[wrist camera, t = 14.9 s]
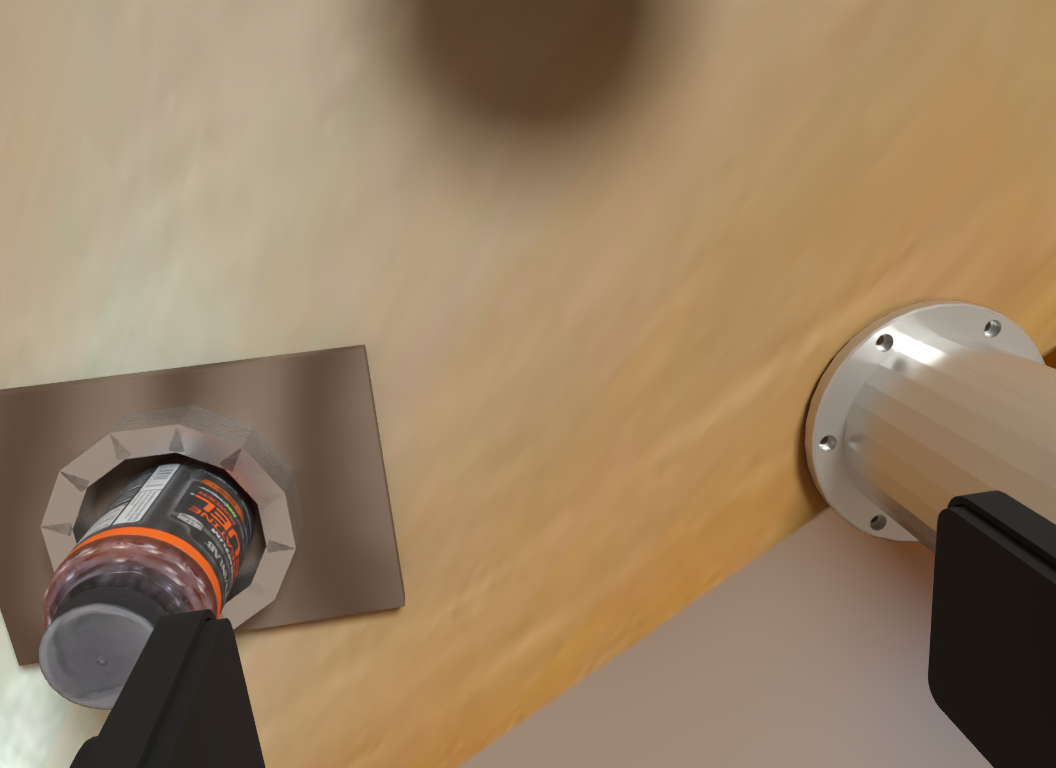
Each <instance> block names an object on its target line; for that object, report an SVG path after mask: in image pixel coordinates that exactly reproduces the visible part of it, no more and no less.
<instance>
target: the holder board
mask: <svg viewBox="0 0 1056 768" xmlns="http://www.w3.org/2000/svg"><path fill="white" fill-rule="evenodd" d="M190 405H194V406H197V407H200V408H202V409H205V410H208V411H211V412H214V413H216V414H219V415H222V416H225V417H228V418H230V419H233V420H236V421H239V422H242V423H244V424H247V425H250V426H253V427H254V428H255V429H256V431H257V432H258V433H259V434H260V435H261V436H262V437H263V438H264V439H265V440H266V441H267V443H268V444H269V445H270V446H271V447H272V448H273V449H274V450H275V451H276V452H277V454H278V455H279V456H280V457H281V458H282V459H283V460H284V461H285V462H286V463H287V464H288V466H289V467H290V468H291V469H292V470H293V474H294V479H295V484H296V489H297V494H298V500H299V505H300V510H301V515H302V520H303V526H302V529H301V533H300V536H299V540H298V544H297V547H296V550H295V552H294V555H293V557H292V559H291V562H290V564H289V567H288V569H287V571H286V574H285V576H284V579H283V581H282V583H281V586H280V588H279V591H278V593H277V595H276V598H275V600H274V601H272V602H271V603H269V604H268V605H267V606H265V607H264V608H263V609H261V610H260V611H258V612H257V613H256V614H254V615H253V616H251V617H250V618H249V619H247V620H246V621H245V622H243V623H242V624H240V625H239V626H238V627H236V628H235V629H233V631H234V632H241V631H247V630H254V629H260V628H267V627H273V626H280V625H286V624H293V623H299V622H306V621H312V620H319V619H325V618H332V617H338V616H345V615H351V614H358V613H364V612H371V611H377V610H384V609H390V608H397V607H403V606H405V593H404V586H403V580H402V574H401V568H400V561H399V555H398V549H397V543H396V536H395V530H394V524H393V517H392V511H391V505H390V499H389V492H388V486H387V480H386V473H385V467H384V461H383V455H382V448H381V442H380V436H379V430H378V423H377V417H376V411H375V404H374V398H373V392H372V386H371V379H370V373H369V367H368V361H367V354H366V348H365V345H359V346H351V347H343V348H334V349H326V350H318V351H310V352H302V353H294V354H286V355H278V356H270V357H262V358H254V359H246V360H237V361H229V362H221V363H213V364H205V365H197V366H189V367H181V368H173V369H165V370H157V371H148V372H140V373H132V374H124V375H116V376H108V377H100V378H92V379H84V380H76V381H68V382H59V383H51V384H43V385H35V386H27V387H19V388H11V389H3V390H0V609H1V612H2V615H3V618H4V621H5V624H6V627H7V630H8V633H9V636H10V639H11V642H12V645H13V648H14V651H15V654H16V657H17V660H18V663H19V665H26V664H32V663H39V647H40V643H41V639H42V637H43V635H44V633H45V631H46V630H45V626H44V622H43V617H42V606H43V599H44V594H45V591H46V588H47V586H48V584H49V581H50V579H51V577H52V576H53V574H54V570H53V567H52V563H51V560H50V557H49V553H48V550H47V547H46V543H45V540H44V537H43V533H42V530H41V524H42V521H43V518H44V515H45V512H46V509H47V506H48V503H49V500H50V497H51V494H52V491H53V488H54V486H55V483H56V480H57V477H58V474H59V471H60V470H61V469H62V468H63V467H64V466H65V465H66V464H67V463H68V462H69V461H70V460H71V459H72V458H73V457H74V456H75V455H76V454H77V453H78V452H79V451H81V450H82V449H83V448H84V447H85V446H87V445H88V444H89V443H91V442H92V441H93V440H95V439H96V438H97V437H99V436H100V435H101V434H103V433H104V432H105V431H107V430H108V429H109V428H111V427H112V426H113V425H115V424H116V423H117V422H119V421H120V420H121V419H123V418H124V417H125V416H127V415H128V414H129V413H135V412H143V411H151V410H159V409H166V408H174V407H182V406H190ZM181 457H188V456H185V455H182V454H179V453H168V454H161V455H153V456H146V457H138V458H131V459H125V460H124V461H122V462H121V463H120V464H118V465H117V466H116V467H114V468H113V469H112V470H110V471H109V472H108V473H106V474H105V475H104V477H103V480H102V483H101V486H100V489H99V492H98V494H97V497H96V500H95V503H94V506H95V509H96V513H97V516H98V518H99V517H100V516H101V515H102V514H103V512H104V511H105V510H106V509H107V507H108V506H109V505H110V504H111V503H112V501H113V500H114V499H115V498H116V497H117V495H118V494H119V493H120V492H121V491H122V489H123V488H124V487H125V486H126V485H127V484H128V483H129V482H130V480H131V479H132V478H133V477H134V476H136V475H137V474H138V473H139V472H140V471H142V470H143V469H145V468H146V467H148V466H149V465H152V464H153V463H156V462H158V461H162V460H165V459H170V458H181ZM248 495H249V494H248ZM249 496H250V495H249ZM250 499H251V501H252V505H253V509H254V516H255V523H254V531H253V535H252V539H251V542H250V545H249V547H248V550H247V552H246V555H245V557H244V560H243V562H242V565H241V567H240V569H239V572H238V574H239V573H240V572H241V571H243V570H244V569H246V568H247V567H248V566H250V565H251V564H252V563H254V562H255V561H257V560H258V559H259V558H261V555H262V553H263V550H264V548H265V545H266V541H265V536H264V532H263V527H262V522H261V517H260V513H259V508H258V504H257V503H256V502H255V500H254V499H253V498H252V497H251V496H250Z"/></svg>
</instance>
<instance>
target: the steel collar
mask: <svg viewBox="0 0 1056 768" xmlns="http://www.w3.org/2000/svg"><path fill="white" fill-rule="evenodd" d="M168 453H179V454H182V455H185V456H188V457H191V458H194V459H197V460H200V461H203V462H206V463H208V464H211V465H214V466H217V467H220V468H223V469H225V470H226V471H227V472H228V473H229V474H230V475H231V476H232V477H233V478H234V479H235V480H236V481H237V483H238V484H239V485H240V486H241V487H242V488H243V489H244V490H245V491H246V492H247V493H248V494H249V495H250V496H251V497H252V498H253V499H254V500H255V502H256V503H257V504H258V508H259V513H260V517H261V522H262V527H263V532H264V536H265V541H266V545H265V548H264V550H263V553H262V555H261V558H259V559H258V560H257V561H255V562H254V563H252V564H251V565H250V566H248V567H247V568H246V569H244V570H243V571H241V572H240V573H239V574H238V575H237V577H236V580H235V582H234V584H233V586H232V589H231V591H230V594H229V596H228V599H227V602H226V604H225V606H224V608H223V611H222V613H221V615H220V618H219V619H223V618H228V619H229V620H230V622H231V624H232V628H233V629H235V628H236V627H238V626H239V625H240V624H242V623H243V622H245V621H246V620H247V619H249V618H250V617H251V616H253V615H254V614H256V613H257V612H258V611H260V610H261V609H263V608H264V607H265V606H267V605H268V604H269V603H271V602H272V601H274V600H275V598H276V595H277V593H278V591H279V588H280V586H281V583H282V581H283V579H284V576H285V574H286V571H287V569H288V567H289V564H290V562H291V559H292V557H293V555H294V552H295V550H296V547H297V544H298V540H299V536H300V533H301V529H302V526H303V520H302V515H301V510H300V505H299V500H298V494H297V489H296V484H295V479H294V474H293V470H292V469H291V468H290V467H289V466H288V464H287V463H286V462H285V461H284V460H283V459H282V458H281V457H280V456H279V455H278V454H277V452H276V451H275V450H274V449H273V448H272V447H271V446H270V445H269V444H268V443H267V441H266V440H265V439H264V438H263V437H262V436H261V435H260V434H259V433H258V432H257V431H256V429H255V428H254V427H253V426H250V425H247V424H244V423H242V422H239V421H236V420H233V419H230V418H228V417H225V416H222V415H219V414H216V413H214V412H211V411H208V410H205V409H202V408H200V407H197V406H194V405H190V406H182V407H174V408H166V409H159V410H151V411H143V412H135V413H129V414H128V415H127V416H125V417H124V418H123V419H121V420H120V421H119V422H117V423H116V424H115V425H113V426H112V427H111V428H109V429H108V430H107V431H105V432H104V433H103V434H101V435H100V436H99V437H97V438H96V439H95V440H93V441H92V442H91V443H89V444H88V445H87V446H85V447H84V448H83V449H82V450H81V451H79V452H78V453H77V454H76V455H75V456H74V457H73V458H72V459H71V460H70V461H69V462H68V463H67V464H66V465H65V466H64V467H63V468H62V469H61V470H60V471H59V474H58V477H57V480H56V483H55V486H54V488H53V491H52V494H51V497H50V500H49V503H48V506H47V509H46V512H45V515H44V518H43V521H42V524H41V530H42V533H43V537H44V540H45V543H46V547H47V550H48V553H49V557H50V560H51V563H52V567H53V570H54V573H55V571H56V570H57V568H58V567H59V565H60V564H61V563H62V562H63V561H64V559H65V558H66V557H67V556H68V554H69V553H70V552H71V551H72V549H73V548H74V547H75V546H76V545H77V543H78V542H79V541H80V540H81V539H82V538H83V536H84V535H85V534H86V533H87V532H88V530H89V529H90V528H91V527H92V525H93V524H94V523H95V522H96V521H97V520H98V516H97V513H96V509H95V506H94V503H95V500H96V497H97V494H98V492H99V489H100V486H101V483H102V480H103V477H104V475H105V474H106V473H108V472H109V471H110V470H112V469H113V468H114V467H116V466H117V465H118V464H120V463H121V462H122V461H124V460H125V459H131V458H138V457H146V456H153V455H161V454H168Z"/></svg>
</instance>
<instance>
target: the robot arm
mask: <svg viewBox="0 0 1056 768" xmlns="http://www.w3.org/2000/svg"><path fill="white" fill-rule="evenodd" d="M878 338H879V340H878V341H877V339H878ZM823 437H824V438H823ZM822 438H823V439H822ZM805 450H806V457H807V464H808V468H809V471H810V473H811V476H812V479H813V481H814V484H815V486H816V488H817V489H818V491H819V492H820V494H821V495H822V497H823V498H824V500H825V501H826V503H827V504H828V505H829V506H830V507H831V508H832V509H833V510H834V511H835V512H836V513H837V514H838V515H839V516H840V517H842V518H843V519H844V520H846V521H847V522H849V523H850V524H851V525H852V526H854V527H855V528H857V529H858V530H860V531H862V532H864V533H866V534H868V535H871V536H874V537H877V538H882V539H886V540H891V541H898V542H919V541H920V542H921V543H923V544H924V545H925V546H926V547H927V548H929V549H930V550H931V551H932V552H934V553H935V568H934V585H933V602H932V618H931V635H930V653H929V669H928V682H929V687H930V690H931V693H932V696H933V698H934V700H935V702H936V703H937V705H938V706H939V707H940V709H941V710H942V711H943V712H944V713H945V714H946V715H947V716H948V717H949V719H950V720H951V721H952V722H953V723H954V724H955V725H956V726H957V727H958V728H959V730H960V731H961V732H962V733H963V734H964V735H965V736H966V737H967V738H968V739H969V741H971V743H972V744H973V745H974V746H975V747H976V748H977V749H978V751H979V752H980V753H981V754H982V755H983V756H984V757H985V758H986V759H987V760H988V761H989V763H990V764H991V765H992V766H993V767H994V768H1056V369H1053V368H1051V367H1048V366H1046V365H1045V363H1044V361H1043V359H1042V357H1041V355H1040V353H1039V351H1038V349H1037V347H1036V345H1035V343H1034V342H1033V341H1032V340H1031V339H1030V337H1029V336H1028V335H1027V334H1026V333H1025V331H1024V330H1023V329H1022V328H1021V327H1019V326H1018V325H1017V324H1015V323H1014V322H1013V321H1011V320H1010V319H1009V318H1007V317H1006V316H1004V315H1002V314H999V313H997V312H995V311H992V310H990V309H988V308H985V307H982V306H978V305H975V304H971V303H968V302H964V301H950V300H936V301H928V302H920V303H916V304H913V305H910V306H907V307H904V308H901V309H897V310H895V311H893V312H891V313H889V314H887V315H885V316H883V317H881V318H880V319H878V320H876V321H874V322H872V323H871V324H870V325H868V326H867V327H866V328H864V329H863V330H862V331H861V332H859V333H858V334H857V335H855V336H854V337H853V338H852V339H851V340H850V341H849V342H848V343H847V344H846V345H845V346H844V347H843V349H842V350H841V351H840V352H839V353H838V354H837V355H836V356H835V357H834V359H833V360H832V362H831V364H830V365H829V367H828V368H827V370H826V371H825V373H824V374H823V376H822V377H821V379H820V382H819V384H818V386H817V388H816V391H815V393H814V395H813V397H812V400H811V404H810V408H809V412H808V416H807V420H806V431H805ZM70 768H265V764H264V760H263V755H262V751H261V747H260V743H259V738H258V734H257V730H256V725H255V721H254V717H253V713H252V708H251V704H250V700H249V695H248V691H247V687H246V683H245V678H244V674H243V670H242V666H241V661H240V657H239V653H238V648H237V644H236V640H235V636H234V631H233V628H232V624H231V622H230V620H229V619H228V618H223V619H216V617H215V615H214V613H213V612H212V611H211V610H210V609H204V610H197V611H191V612H184V613H177V614H171V615H164V616H161V617H160V619H159V620H158V621H157V623H156V625H155V627H154V629H153V631H152V633H151V635H150V637H149V639H148V641H147V643H146V644H145V646H144V648H143V650H142V652H141V654H140V656H139V658H138V660H137V662H136V664H135V666H134V668H133V670H132V672H131V673H130V675H129V677H128V679H127V681H126V683H125V685H124V687H123V689H122V691H121V693H120V695H119V697H118V699H117V700H116V702H115V704H114V706H113V708H112V710H111V712H110V714H109V716H108V718H107V720H106V722H105V724H104V726H103V728H102V729H101V731H100V733H99V735H98V736H96V737H92V738H90V739H89V740H87V741H85V743H84V744H83V745H82V747H81V748H80V750H79V751H78V753H77V755H76V756H75V758H74V760H73V762H72V764H71V766H70Z"/></svg>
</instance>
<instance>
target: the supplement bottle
mask: <svg viewBox="0 0 1056 768" xmlns="http://www.w3.org/2000/svg"><path fill="white" fill-rule="evenodd" d="M254 523H255V516H254V509H253V505H252V501H251V499H250V496H249V495H248V493H247V492H246V491H245V490H244V489H243V488H242V487H241V486H240V485H239V484H238V483H237V481H236V480H235V479H234V478H233V477H232V476H231V475H230V474H229V473H228V472H227V471H226V470H225V469H223V468H220V467H217V466H214V465H211V464H208V463H206V462H203V461H200V460H197V459H194V458H191V457H181V458H170V459H165V460H162V461H158V462H156V463H153V464H152V465H149V466H148V467H146V468H145V469H143V470H142V471H140V472H139V473H138V474H137V475H136V476H134V477H133V478H132V479H131V480H130V482H129V483H128V484H127V485H126V486H125V487H124V488H123V489H122V491H121V492H120V493H119V494H118V495H117V497H116V498H115V499H114V500H113V501H112V503H111V504H110V505H109V506H108V507H107V509H106V510H105V511H104V512H103V514H102V515H101V516H100V517H99V518H98V520H97V521H96V522H95V523H94V524H93V525H92V527H91V528H90V529H89V530H88V532H87V533H86V534H85V535H84V536H83V538H82V539H81V540H80V541H79V542H78V543H77V545H76V546H75V547H74V548H73V549H72V551H71V552H70V553H69V554H68V556H67V557H66V558H65V559H64V561H63V562H62V563H61V564H60V565H59V567H58V568H57V570H56V571H55V573H54V574H53V576H52V577H51V579H50V581H49V584H48V586H47V588H46V591H45V594H44V599H43V606H42V617H43V622H44V626H45V630H46V631H45V633H44V635H43V637H42V639H41V643H40V647H39V663H40V667H41V671H42V673H43V675H44V677H45V679H46V680H47V682H48V683H49V685H50V686H51V687H52V688H53V689H54V690H55V691H57V692H58V693H59V694H60V695H61V696H62V697H64V698H66V699H67V700H69V701H71V702H73V703H76V704H79V705H81V706H85V707H88V708H95V709H112V708H113V706H114V704H115V702H116V700H117V699H118V697H119V695H120V693H121V691H122V689H123V687H124V685H125V683H126V681H127V679H128V677H129V675H130V673H131V672H132V670H133V668H134V666H135V664H136V662H137V660H138V658H139V656H140V654H141V652H142V650H143V648H144V646H145V644H146V643H147V641H148V639H149V637H150V635H151V633H152V631H153V629H154V627H155V625H156V623H157V621H158V620H159V619H160V617H161V616H164V615H171V614H177V613H184V612H191V611H197V610H204V609H210V610H211V611H212V612H213V613H214V615H215V617H216V619H219V618H220V615H221V613H222V611H223V608H224V606H225V604H226V602H227V599H228V596H229V594H230V591H231V589H232V586H233V584H234V582H235V580H236V577H237V575H238V572H239V569H240V567H241V565H242V562H243V560H244V557H245V555H246V552H247V550H248V547H249V545H250V542H251V539H252V535H253V531H254Z"/></svg>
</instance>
